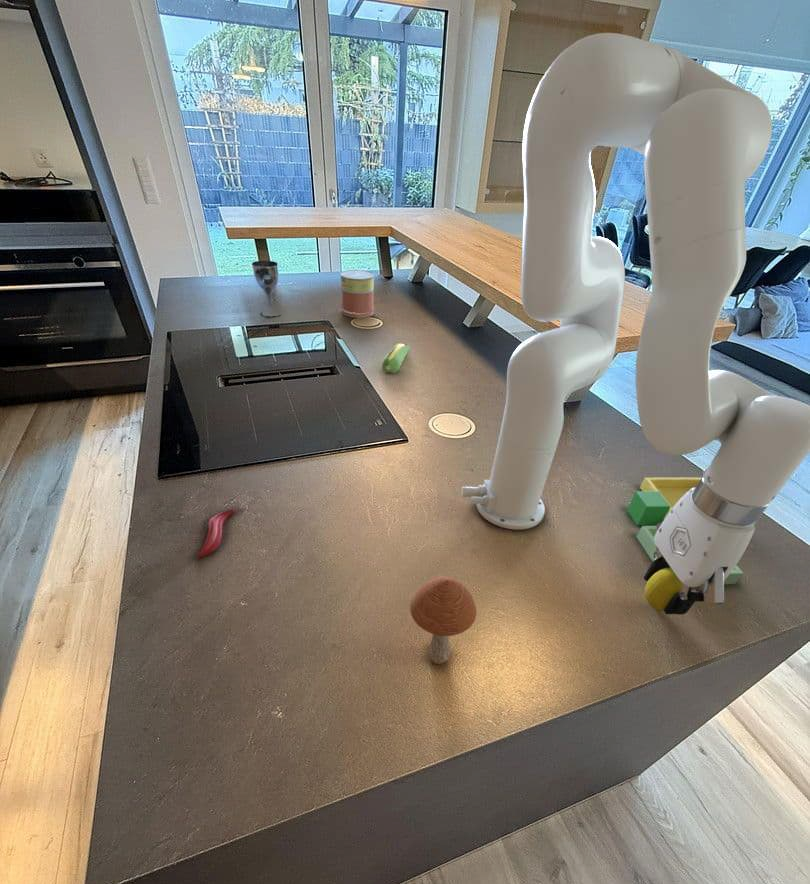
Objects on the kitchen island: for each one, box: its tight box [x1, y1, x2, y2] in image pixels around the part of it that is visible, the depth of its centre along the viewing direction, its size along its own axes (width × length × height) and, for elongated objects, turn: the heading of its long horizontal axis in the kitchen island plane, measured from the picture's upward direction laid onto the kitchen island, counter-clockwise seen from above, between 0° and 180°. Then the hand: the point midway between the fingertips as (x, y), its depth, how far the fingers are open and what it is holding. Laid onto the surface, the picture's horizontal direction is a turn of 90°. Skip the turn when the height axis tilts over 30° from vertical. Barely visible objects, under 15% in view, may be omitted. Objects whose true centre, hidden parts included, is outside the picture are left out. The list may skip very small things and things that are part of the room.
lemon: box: [644, 568, 683, 612], centre depth 68 cm, size 6×6×8 cm
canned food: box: [340, 269, 375, 319], centre depth 159 cm, size 11×11×12 cm
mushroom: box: [409, 575, 477, 665], centre depth 57 cm, size 8×8×15 cm
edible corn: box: [381, 342, 411, 374], centre depth 131 cm, size 5×20×5 cm, turn 167°
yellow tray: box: [639, 477, 702, 521], centre depth 89 cm, size 13×13×3 cm
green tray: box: [636, 525, 744, 585], centre depth 78 cm, size 12×12×3 cm
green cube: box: [626, 490, 671, 527], centre depth 85 cm, size 4×4×4 cm
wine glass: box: [251, 260, 279, 308], centre depth 152 cm, size 8×8×15 cm
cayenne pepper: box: [197, 509, 236, 559], centre depth 76 cm, size 12×5×2 cm, turn 162°
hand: (664, 594), depth 68 cm, fingers closed on lemon, 5 cm apart
